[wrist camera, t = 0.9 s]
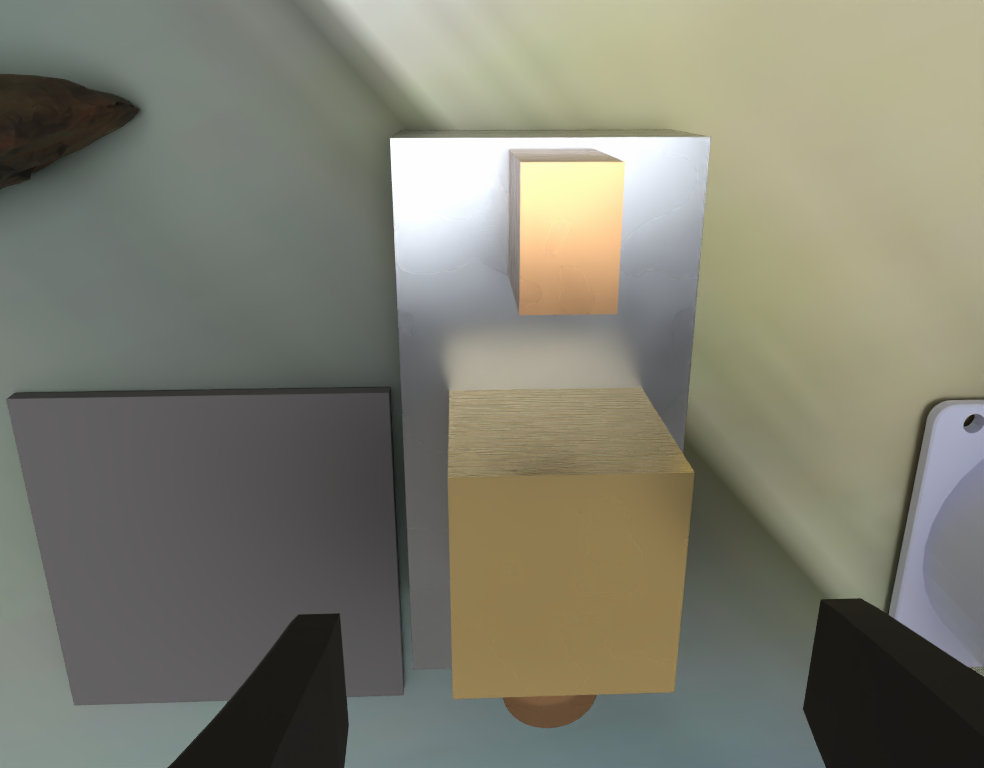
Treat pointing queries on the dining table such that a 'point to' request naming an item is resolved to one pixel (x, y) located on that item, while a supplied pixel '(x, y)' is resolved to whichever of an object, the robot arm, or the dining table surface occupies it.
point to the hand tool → (51, 122)
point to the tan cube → (564, 543)
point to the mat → (212, 533)
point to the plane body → (534, 304)
